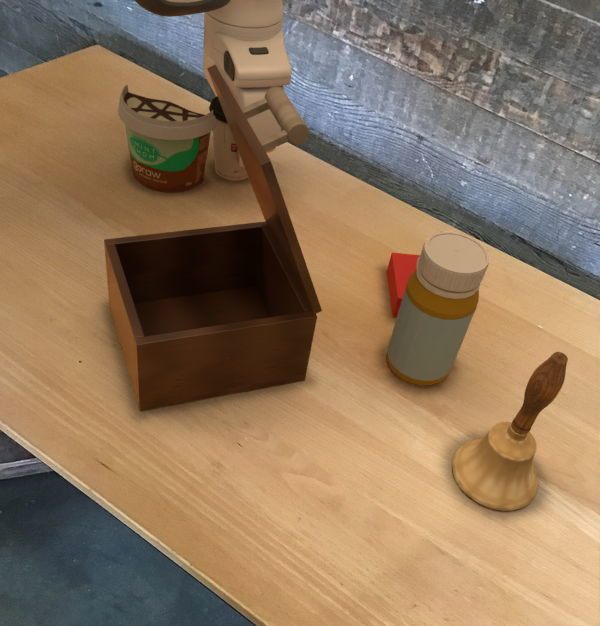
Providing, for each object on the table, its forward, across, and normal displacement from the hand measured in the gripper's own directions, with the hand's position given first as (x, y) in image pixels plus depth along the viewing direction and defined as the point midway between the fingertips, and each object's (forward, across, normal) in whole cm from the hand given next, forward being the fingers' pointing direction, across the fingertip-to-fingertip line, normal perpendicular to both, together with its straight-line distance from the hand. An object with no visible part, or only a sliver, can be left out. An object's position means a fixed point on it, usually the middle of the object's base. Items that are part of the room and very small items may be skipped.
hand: (235, 145), depth 97 cm
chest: (+4, +30, -12) cm, 33 cm away
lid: (-14, +30, -7) cm, 34 cm away
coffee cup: (+4, 0, 0) cm, 4 cm away
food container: (+4, +1, -10) cm, 11 cm away
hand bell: (+4, +53, +10) cm, 54 cm away
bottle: (+4, +38, +9) cm, 39 cm away
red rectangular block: (+4, +28, +14) cm, 32 cm away
